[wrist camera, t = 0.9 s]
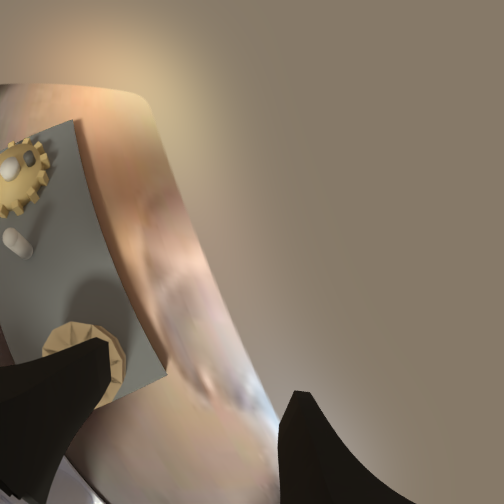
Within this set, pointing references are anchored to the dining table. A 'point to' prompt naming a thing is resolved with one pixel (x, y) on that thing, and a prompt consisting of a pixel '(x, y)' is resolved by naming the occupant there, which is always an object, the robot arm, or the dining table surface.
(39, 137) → the gear board
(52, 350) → the wooden ring spacer
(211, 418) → the dining table surface
